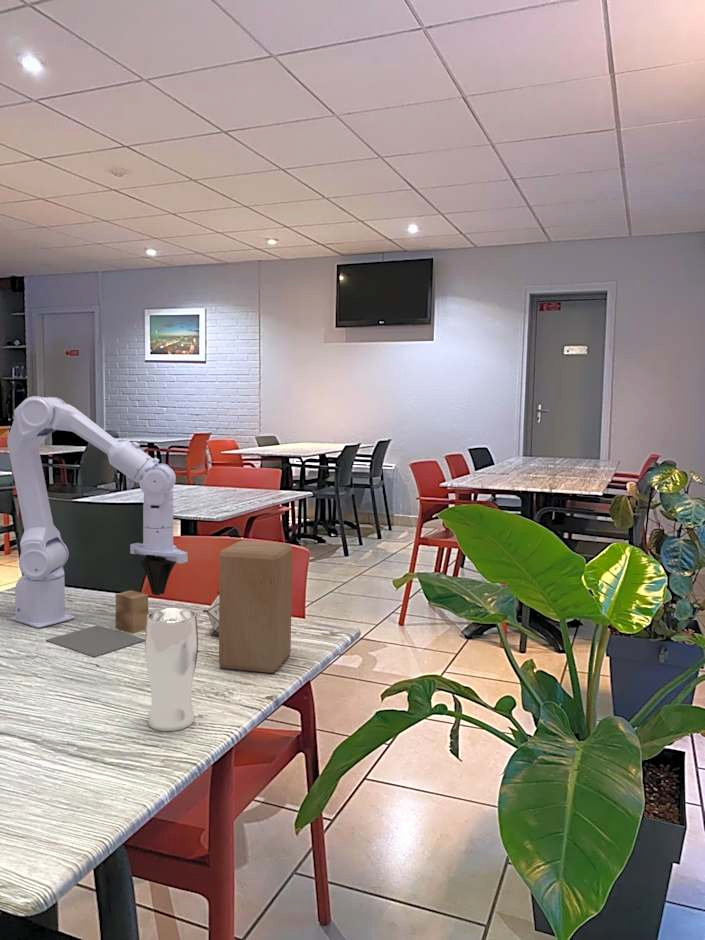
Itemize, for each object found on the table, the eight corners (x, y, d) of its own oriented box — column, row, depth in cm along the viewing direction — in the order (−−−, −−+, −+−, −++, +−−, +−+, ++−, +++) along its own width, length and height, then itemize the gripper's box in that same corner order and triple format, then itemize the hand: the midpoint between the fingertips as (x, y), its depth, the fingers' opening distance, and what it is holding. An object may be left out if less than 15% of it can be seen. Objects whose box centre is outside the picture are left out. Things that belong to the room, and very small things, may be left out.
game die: (228, 656, 132) (219, 624, 125) (200, 631, 136) (190, 600, 130) (264, 626, 136) (256, 594, 130) (235, 603, 141) (227, 571, 134)
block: (274, 675, 113) (276, 553, 111) (216, 669, 115) (217, 549, 113) (292, 654, 123) (294, 542, 121) (238, 649, 125) (239, 538, 123)
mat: (45, 640, 127) (45, 639, 127) (97, 626, 136) (97, 625, 136) (94, 657, 119) (94, 656, 119) (145, 640, 128) (145, 639, 128)
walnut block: (115, 629, 134) (115, 594, 134) (130, 625, 137) (130, 590, 136) (132, 635, 131) (132, 598, 131) (148, 630, 134) (148, 594, 134)
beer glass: (176, 706, 101) (177, 604, 99) (208, 720, 96) (208, 614, 95) (134, 722, 95) (134, 614, 94) (165, 738, 91) (165, 625, 90)
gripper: (199, 527, 137) (199, 595, 138) (149, 519, 145) (149, 584, 146) (171, 532, 131) (171, 603, 133) (121, 524, 139) (121, 590, 141)
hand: (158, 593), depth 139 cm, fingers closed
